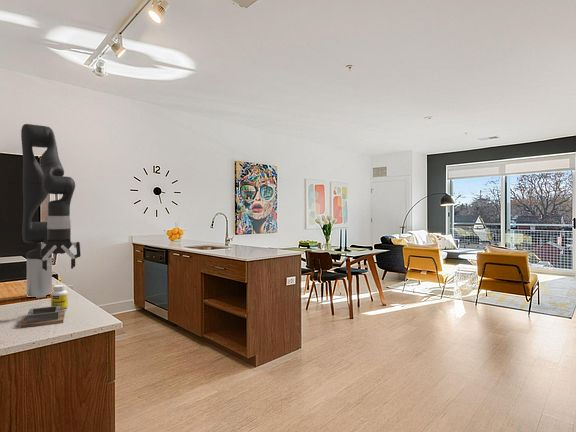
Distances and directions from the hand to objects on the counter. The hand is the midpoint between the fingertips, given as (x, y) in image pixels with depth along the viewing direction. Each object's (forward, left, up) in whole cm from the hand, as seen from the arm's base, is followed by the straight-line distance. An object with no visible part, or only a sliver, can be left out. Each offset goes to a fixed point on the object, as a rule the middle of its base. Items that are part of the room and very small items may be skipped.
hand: (59, 269), depth 135 cm
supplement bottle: (0, 0, -16) cm, 16 cm away
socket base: (+11, -4, -16) cm, 20 cm away
